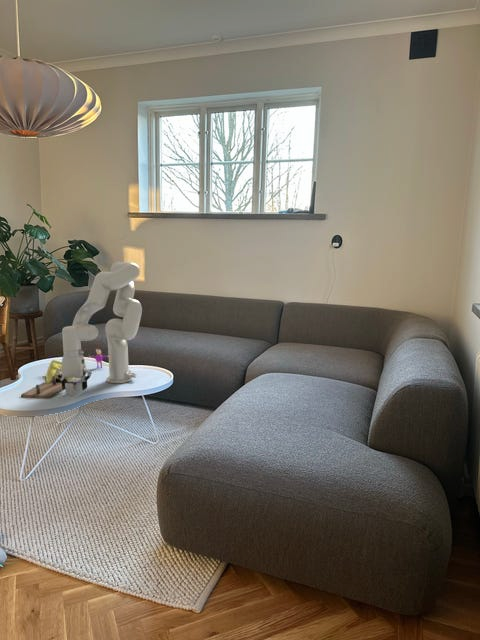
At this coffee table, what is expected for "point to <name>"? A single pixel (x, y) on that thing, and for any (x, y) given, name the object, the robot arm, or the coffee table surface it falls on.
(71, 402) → the coffee table surface
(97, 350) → the purple doll figure
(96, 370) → the coffee table surface
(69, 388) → the block
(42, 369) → the coffee table surface
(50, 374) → the plastic component
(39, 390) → the pin tray
